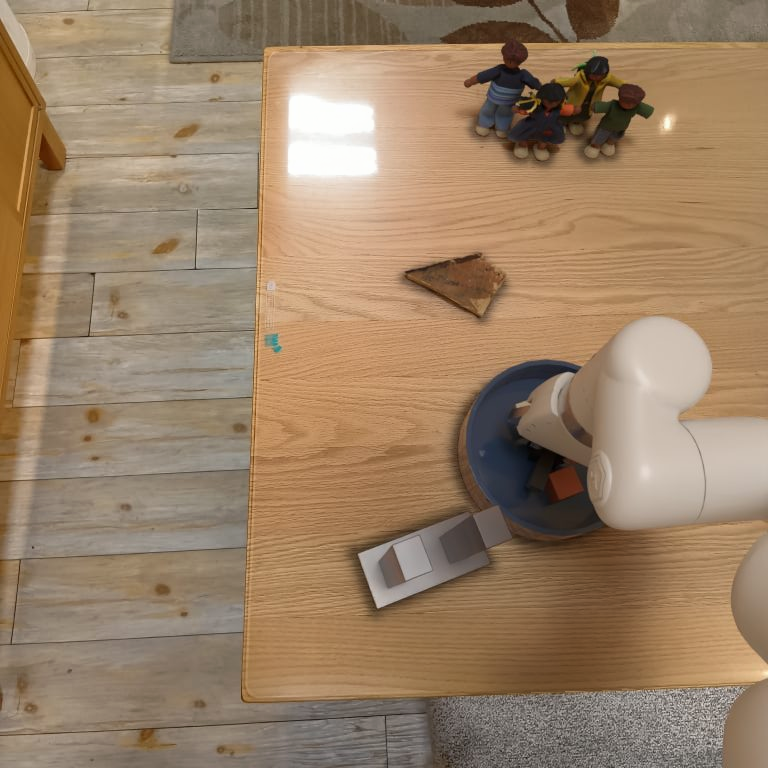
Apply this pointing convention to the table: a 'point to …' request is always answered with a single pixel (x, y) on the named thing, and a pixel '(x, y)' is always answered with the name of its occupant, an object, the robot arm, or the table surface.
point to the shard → (462, 280)
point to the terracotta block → (563, 484)
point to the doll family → (556, 104)
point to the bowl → (518, 459)
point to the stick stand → (432, 555)
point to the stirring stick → (541, 471)
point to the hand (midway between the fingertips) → (544, 452)
